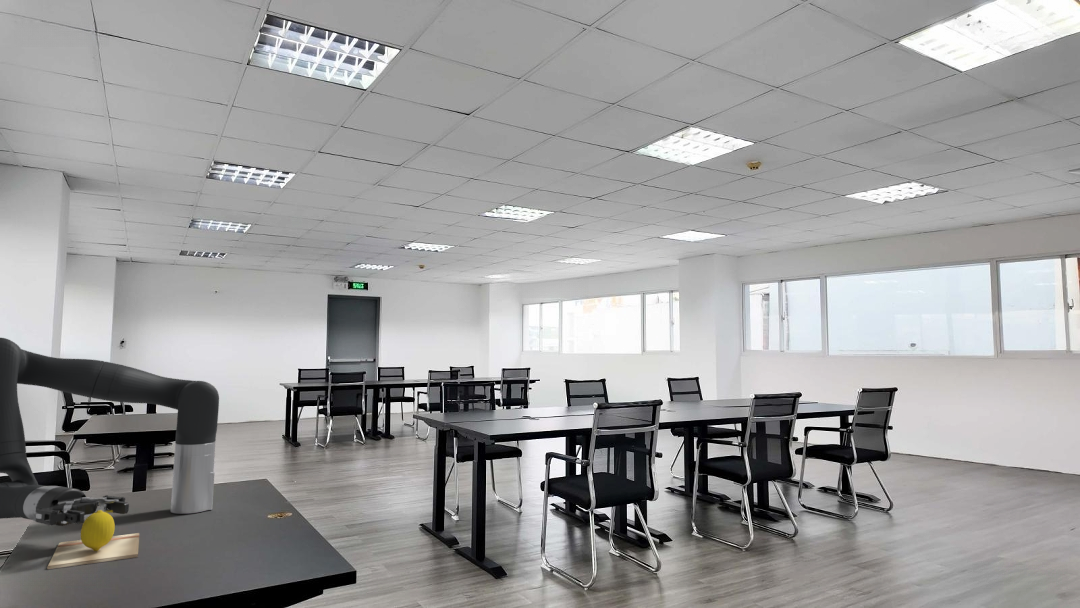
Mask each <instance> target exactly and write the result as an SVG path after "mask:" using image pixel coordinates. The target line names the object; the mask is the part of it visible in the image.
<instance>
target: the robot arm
mask: <svg viewBox="0 0 1080 608" xmlns="http://www.w3.org/2000/svg"><path fill="white" fill-rule="evenodd" d="M18 385H27V386H37V387H44V388H48V389H51V390H55V391H59V392H63V393H67V394H72V395H76V396H81V397H85V398H91V399H96V400H101V401H107V402H115V403H125V404H126V403H128V404H149V405H150V404H151V405H156V406H162V407H166V408H169V409H170V408H171V409H173V410H177V417H176V418H177V419H176V429H175V430H176V431H175V442H174V443H175V444H174V455H173V456H174V457H173V471H172V486H171V501H170V513H172V514H183V515H184V514H196V513H200V512H205V511H211V510H213V502H214V487H215V456H216V455H215V454H216V453H215V452H216V442H217V441H216V440H217V439H216V438H217V432H218V424H219V423H218V422H219V409H220V408H219V407H220V396H219V395H220V394H219V392H218V389H217V388H216V387H215V386H214V385H212V384H211V383H209V382H207V381H204V380H190V379H181V378H180V379H178V378H172V377H167V376H166V377H165V376H161V375H158V374H154V373H151V372H148V371H145V370H142V369H138V368H136V367H131V366H128V365H123V364H119V363H115V362H109V361H104V360H99V359H88V358H61V357H53V356H48V355H43V354H40V353H37V352H32V351H28V350H25V349H22V348H21V347H20V346H19V345H18V344H17V343H16V342H14V341H13V340H11V339H9V338H5V337H0V474H6V475H7V476H9V478H10V479H11V481H6V482H5V481H4V482H0V519H17V518H22V519H25V520H31V521H34V522H35V523H39V524H42V525H48V526H52V527H53V526H55V527H56V526H57V527H66V526H69V525H72V524H76V525H80V524H83V523H84V521H85V519H86V518H87V517H89V516H90V515H91V514H93V513H96V512H97V509H98V507H99V510H102V511H103V512H106V513H108V514H111V513H113V514H120V515H125V514H128V513H129V509H130V508H129V507H130V504H129V503H128V502H126V497H124V496H121V497H120V496H114V495H103V496H102V497H92V496H87V495H86V494H85V492H83V491H82V490H80V489H79V488H73V487H65V486H58V485H43V484H39V483H38V481H37V478H36V477H35V474H34V472H33V470H32V468H31V465H30V463H29V461H28V457H27V445H26V437H25V428H24V423H23V419H22V415H21V414H22V413H21V410H20V403H19V397H18Z"/></svg>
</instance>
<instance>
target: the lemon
mask: <svg viewBox="0 0 1080 608" xmlns="http://www.w3.org/2000/svg"><path fill="white" fill-rule="evenodd" d="M95 512H96V513H93V514H91V515H90V516H88V517H85V519H84V522H83V523H82V526H81V530H80V540H81V541H82V543H83V544H84V545H85V546H86V547H88V548H91V549H93V550H94V551H98V550H99V549H100V548H101V547H103V546H105V545H106V544H107V543H108V542H109V541H110V540H111V539H112V537H113V536H114V534H115V529H116V525H115V520H114V518H113V516H112V515H111V513H106V512H103V511H102V510H100V509H98V510H96V511H95Z"/></svg>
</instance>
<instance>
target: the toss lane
mask: <svg viewBox="0 0 1080 608" xmlns="http://www.w3.org/2000/svg"><path fill="white" fill-rule="evenodd" d="M139 546H140V532H137V533H129V534H127V533H126V534H122V535H113V537H112V539H111V540H110V541H109V542H108V543H107V544H106V545H105V546H103V547H101V548H100V549H99V550H98V551H94V550H93V549H91V548H88V547H86V546H85V545H84V544H83V543H82V541H81V539H79V540H78V539H77V540H71V541H70V540H69V541H61V542H60V541H59V543H58V545H57V547H56V548H55V550H54V553H53V555H52V557H51V559H50V560H49V563H48V565H47V566H46V570H53V569H60V568H68V567H77V566H83V565H89V564H90V565H91V564H98V563H106V562H112V561H120V560H125V559H127V560H128V559H134V558H138V557H139Z"/></svg>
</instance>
